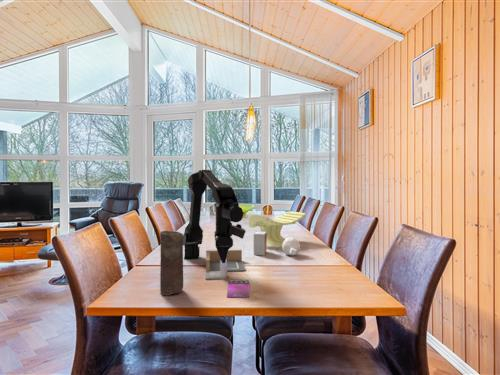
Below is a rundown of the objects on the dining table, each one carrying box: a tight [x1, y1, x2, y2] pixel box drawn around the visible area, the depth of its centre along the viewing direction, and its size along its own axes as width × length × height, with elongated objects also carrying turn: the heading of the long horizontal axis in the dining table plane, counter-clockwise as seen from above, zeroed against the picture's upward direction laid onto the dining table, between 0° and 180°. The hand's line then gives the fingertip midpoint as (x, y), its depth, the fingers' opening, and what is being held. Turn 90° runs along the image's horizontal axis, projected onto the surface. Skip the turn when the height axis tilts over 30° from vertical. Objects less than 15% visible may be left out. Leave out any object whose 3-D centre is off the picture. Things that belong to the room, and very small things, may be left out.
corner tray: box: [205, 249, 247, 273], centre depth 126 cm, size 16×16×5 cm
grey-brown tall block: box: [159, 230, 184, 296], centre depth 97 cm, size 8×7×20 cm
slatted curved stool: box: [248, 210, 307, 249], centre depth 171 cm, size 30×16×18 cm, turn 126°
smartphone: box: [226, 279, 250, 299], centre depth 100 cm, size 7×15×1 cm, turn 1°
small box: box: [253, 231, 267, 256], centre depth 149 cm, size 8×6×10 cm
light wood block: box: [204, 259, 228, 280], centre depth 112 cm, size 8×4×7 cm, turn 98°
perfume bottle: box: [281, 236, 301, 257], centre depth 145 cm, size 9×9×12 cm
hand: (222, 259), depth 113 cm, fingers open, 9 cm apart
